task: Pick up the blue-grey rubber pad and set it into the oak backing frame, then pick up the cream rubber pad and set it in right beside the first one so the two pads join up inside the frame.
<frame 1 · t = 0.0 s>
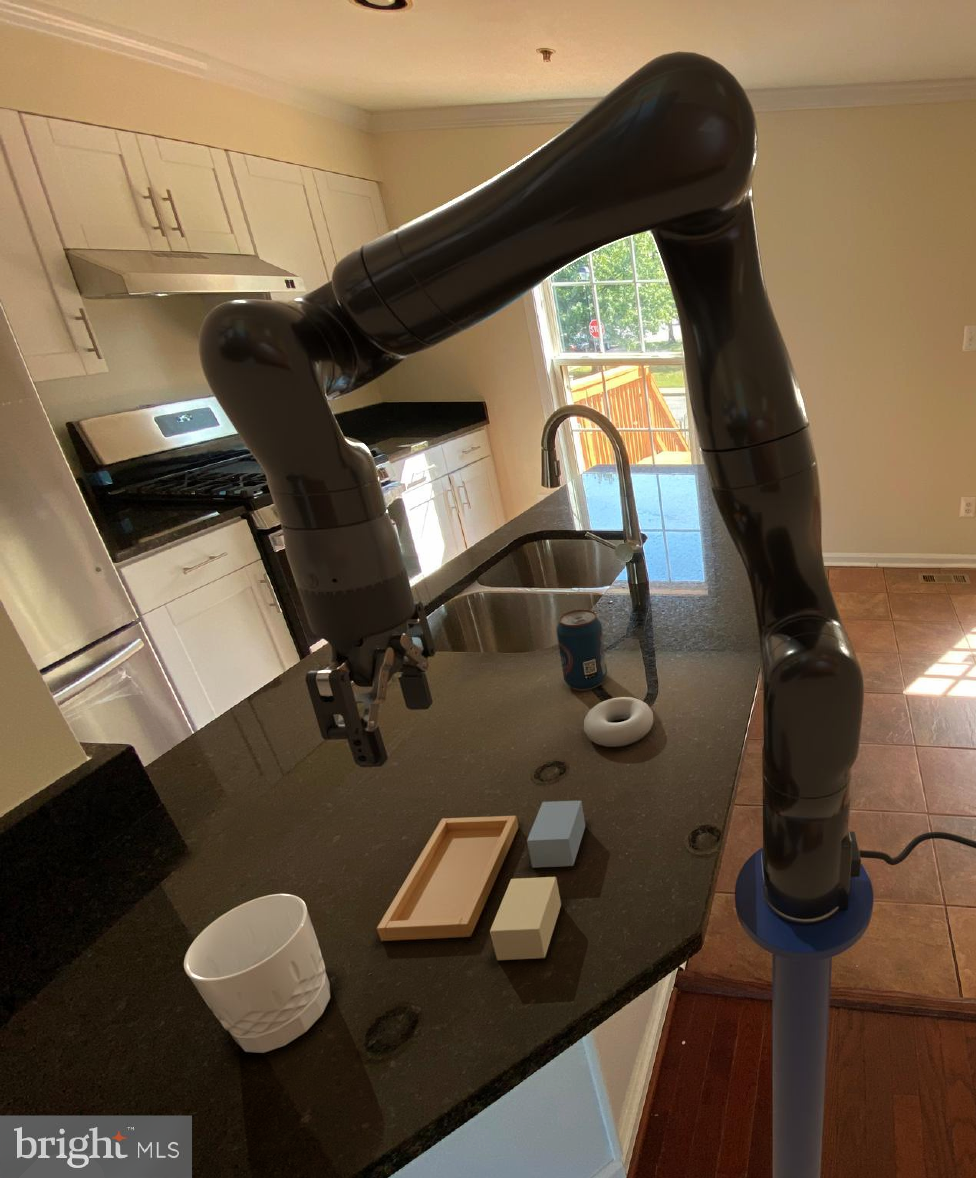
hand: (398, 733, 58), 21 cm above the worktop, tool pointing down, fingers open, 8 cm apart
pad b: (530, 931, 63), on the worktop
white cup: (286, 1014, 56), on the worktop
frame: (456, 878, 69), on the worktop
pad a: (559, 846, 73), on the worktop
soda can: (586, 682, 106), on the worktop
donut: (620, 731, 93), on the worktop
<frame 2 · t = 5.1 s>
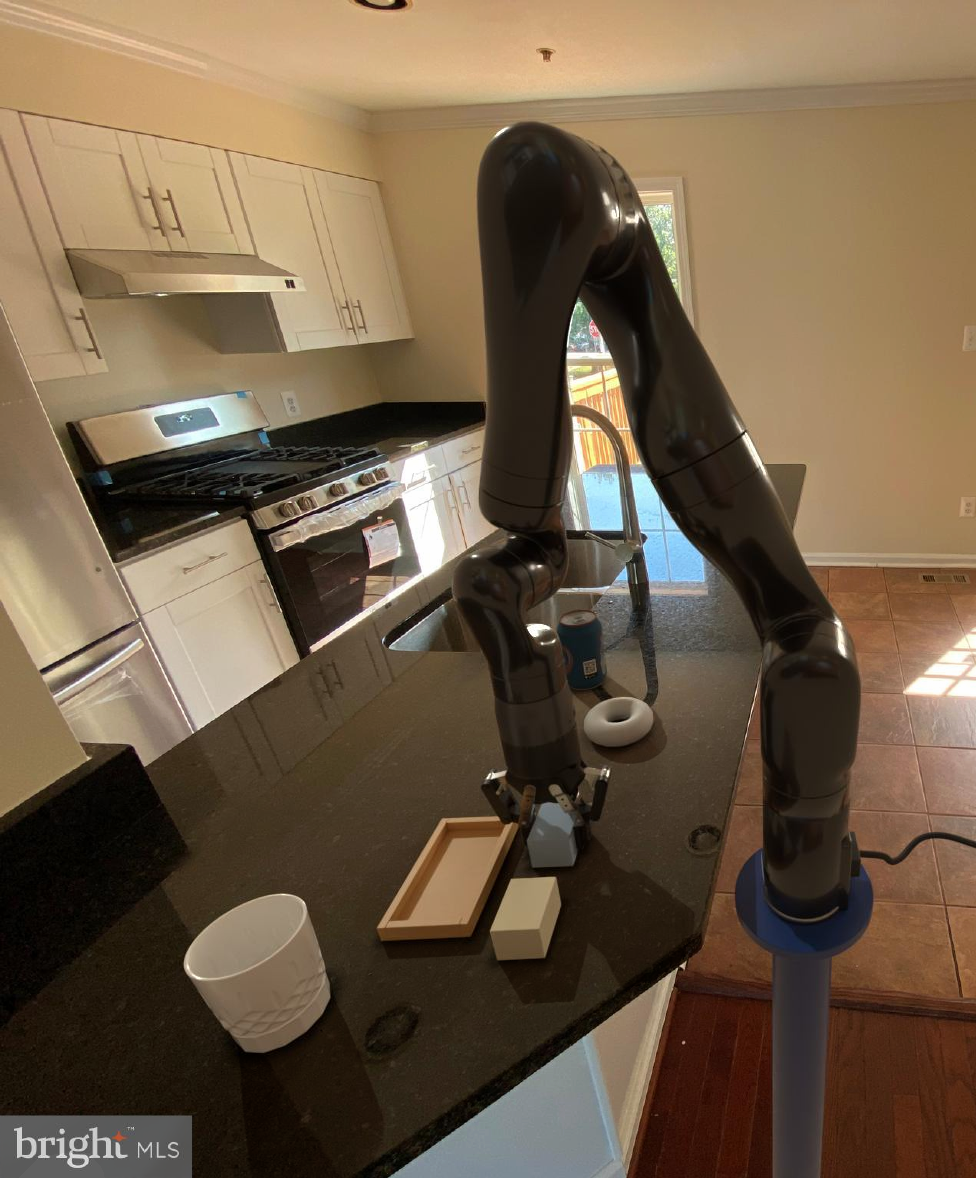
hand: (559, 844, 73), 0 cm above the worktop, tool pointing down, fingers closed on pad a, 4 cm apart
pad a: (559, 846, 73), on the worktop, touching gripper
everything else where it was.
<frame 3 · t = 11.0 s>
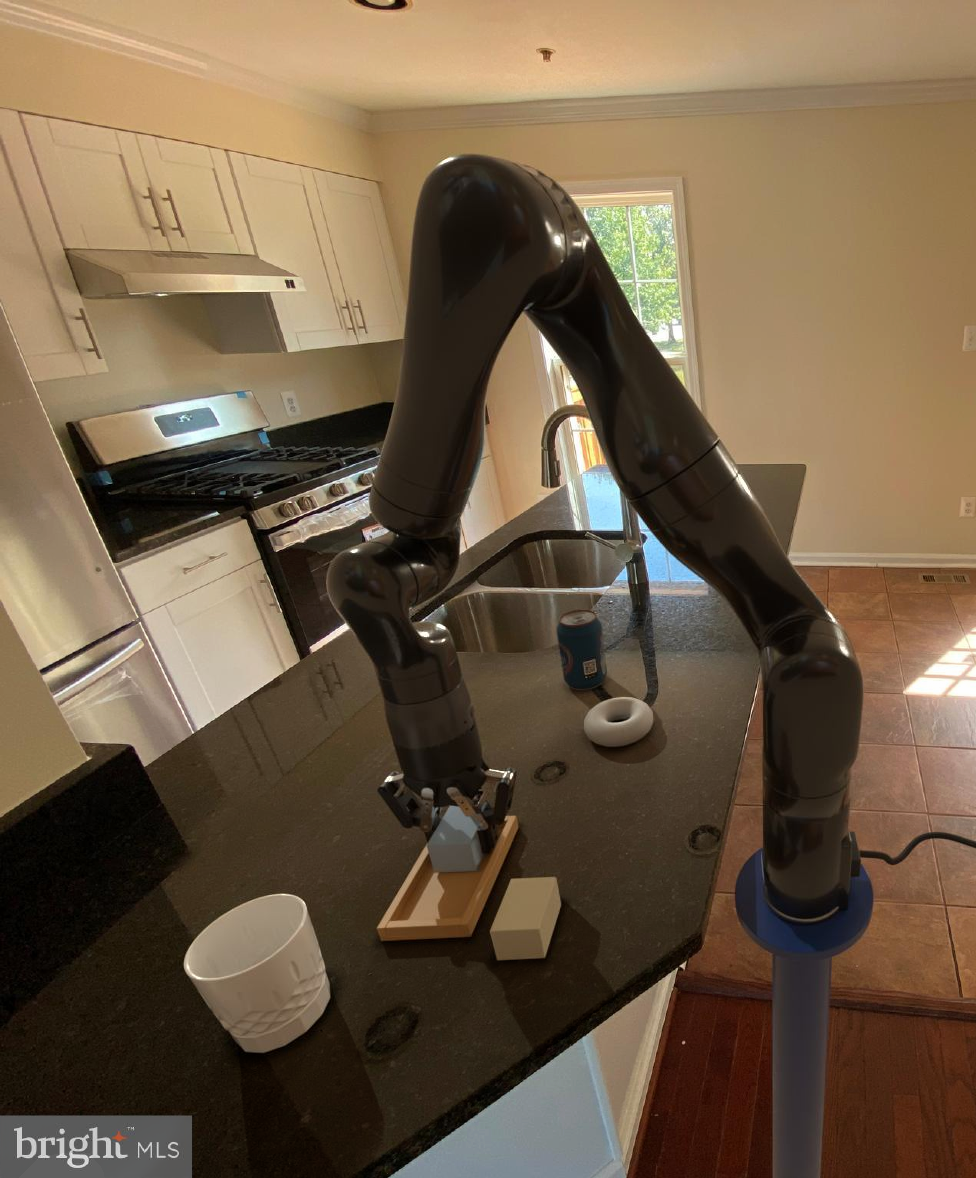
hand: (466, 848, 71), 1 cm above the worktop, tool pointing down, fingers closed on pad a, 4 cm apart
pad a: (466, 850, 71), point 1 cm above the worktop, touching gripper
everything else where it was.
when the fingers open (2 cm above the worktop, at t = 14.3 s): pad a stays where it is, resting on frame.
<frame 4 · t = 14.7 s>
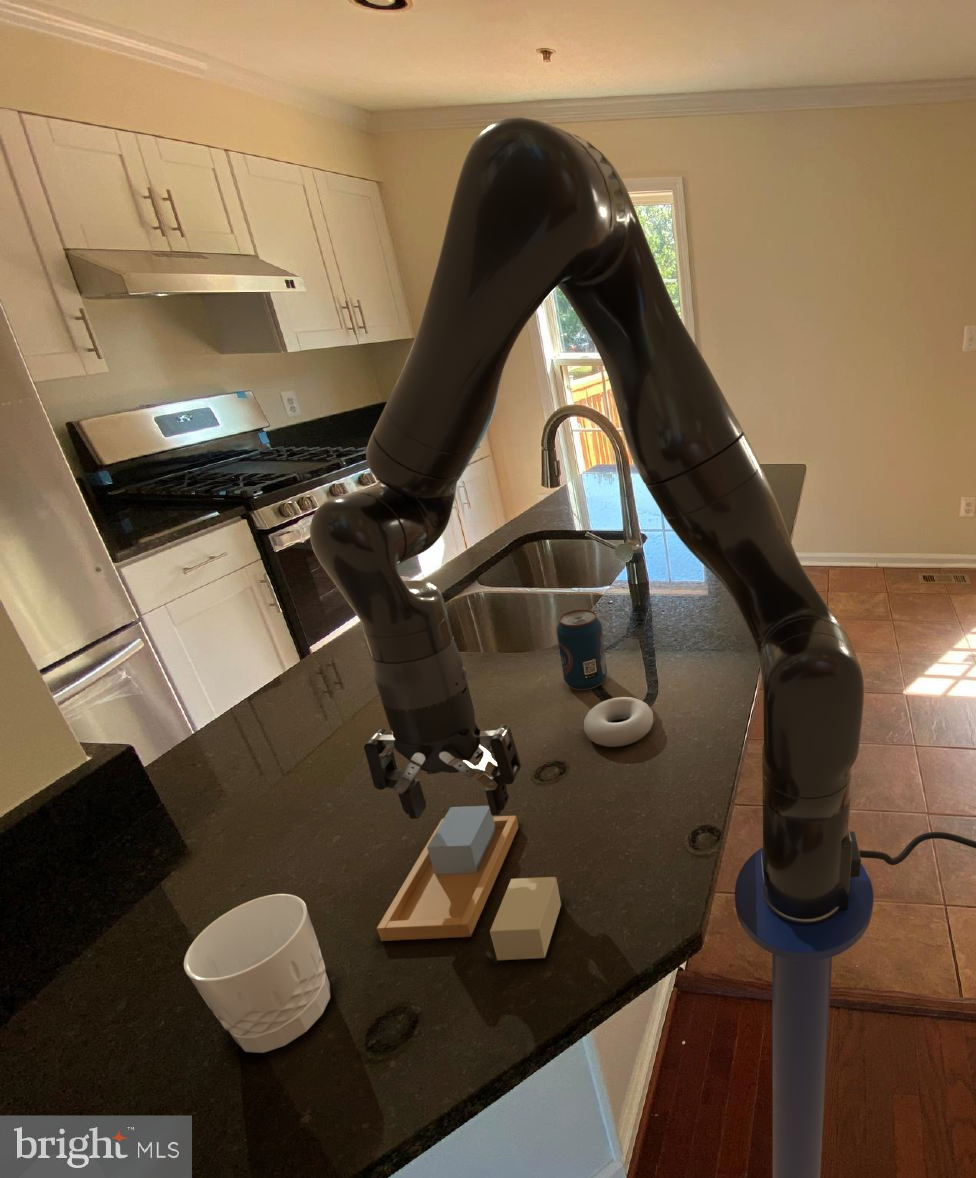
hand: (459, 811, 69), 6 cm above the worktop, tool pointing down, fingers open, 8 cm apart
pad a: (467, 852, 71), point 1 cm above the worktop, touching frame
everything else where it was.
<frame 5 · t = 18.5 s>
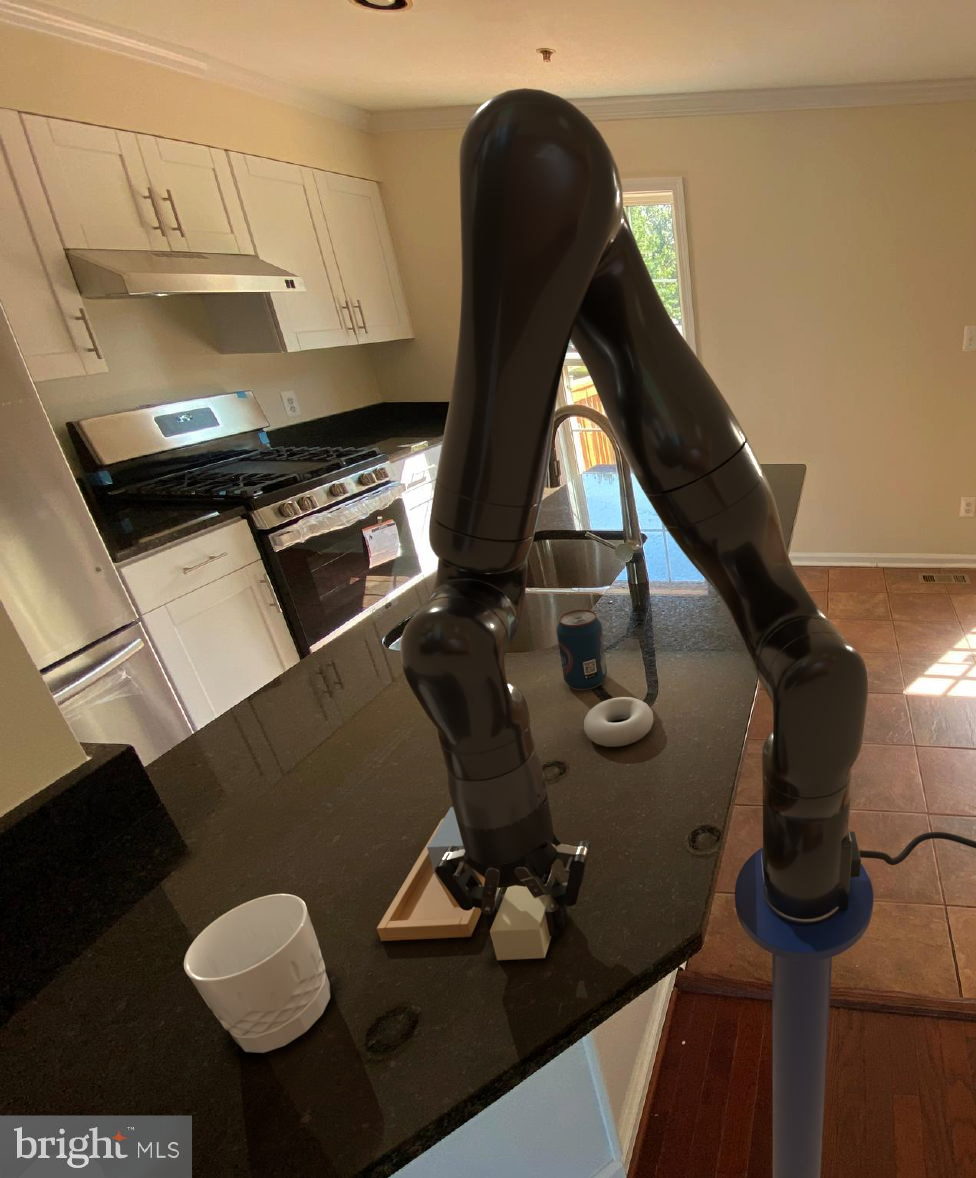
hand: (530, 928, 63), 0 cm above the worktop, tool pointing down, fingers closed on pad b, 4 cm apart
pad b: (530, 931, 63), on the worktop, touching gripper
everything else where it was.
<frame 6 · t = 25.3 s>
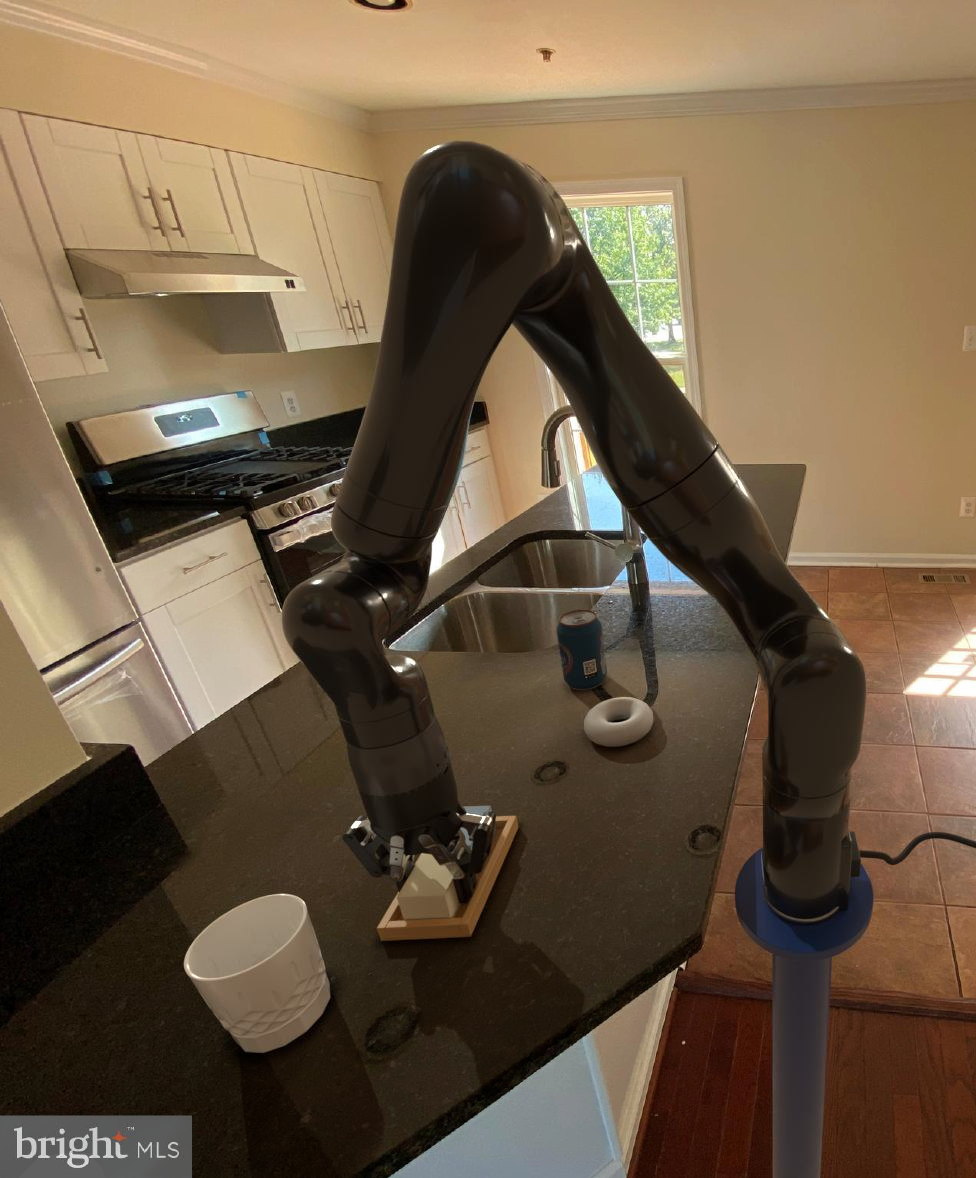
hand: (441, 896, 65), 1 cm above the worktop, tool pointing down, fingers closed on pad b, 4 cm apart
pad b: (442, 899, 66), point 1 cm above the worktop, touching gripper
everything else where it was.
when the fingers open (2 cm above the worktop, at t = 27.7 s): pad b stays where it is, resting on frame.
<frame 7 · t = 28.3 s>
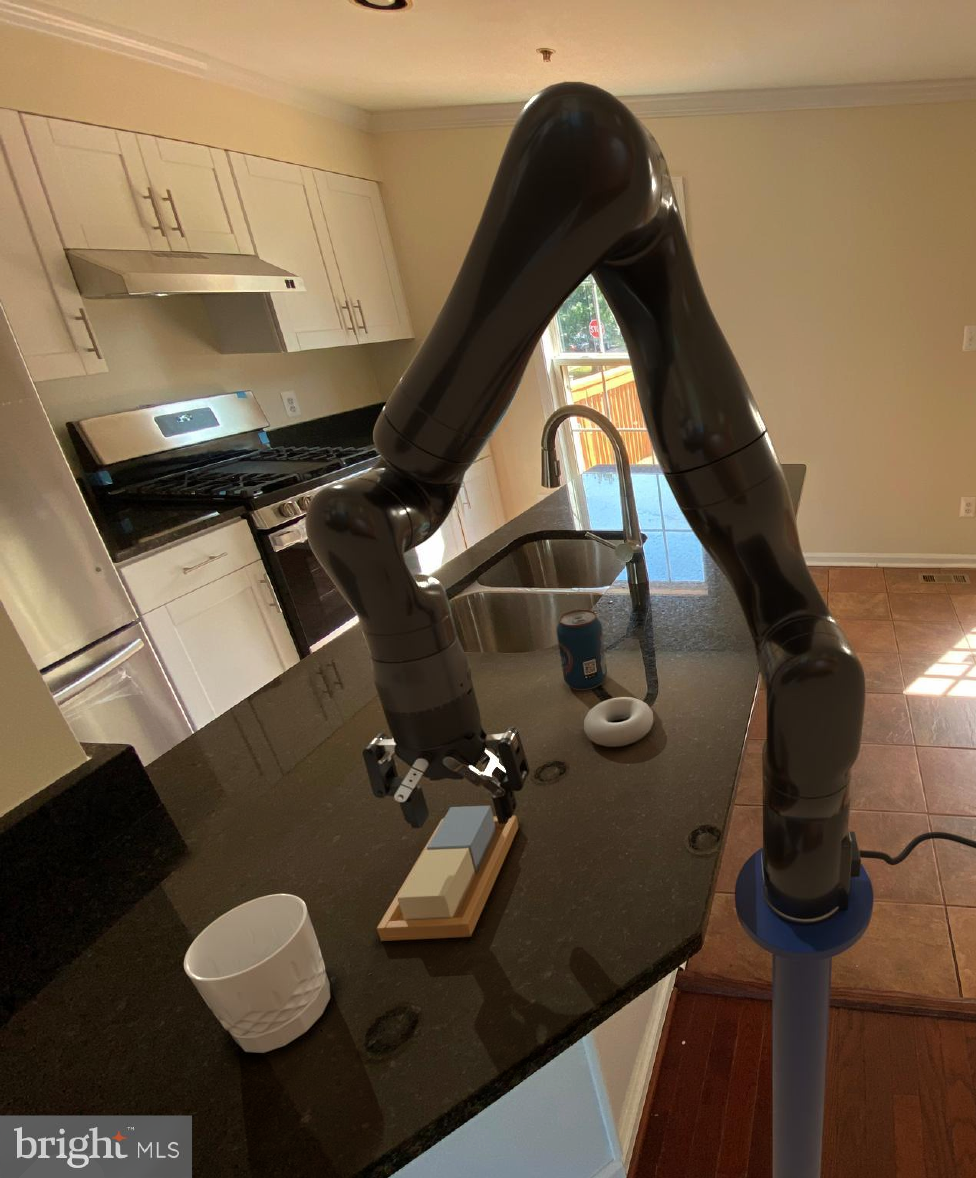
hand: (464, 820, 65), 9 cm above the worktop, tool pointing down, fingers open, 8 cm apart
pad b: (442, 900, 66), point 1 cm above the worktop, touching frame
everything else where it was.
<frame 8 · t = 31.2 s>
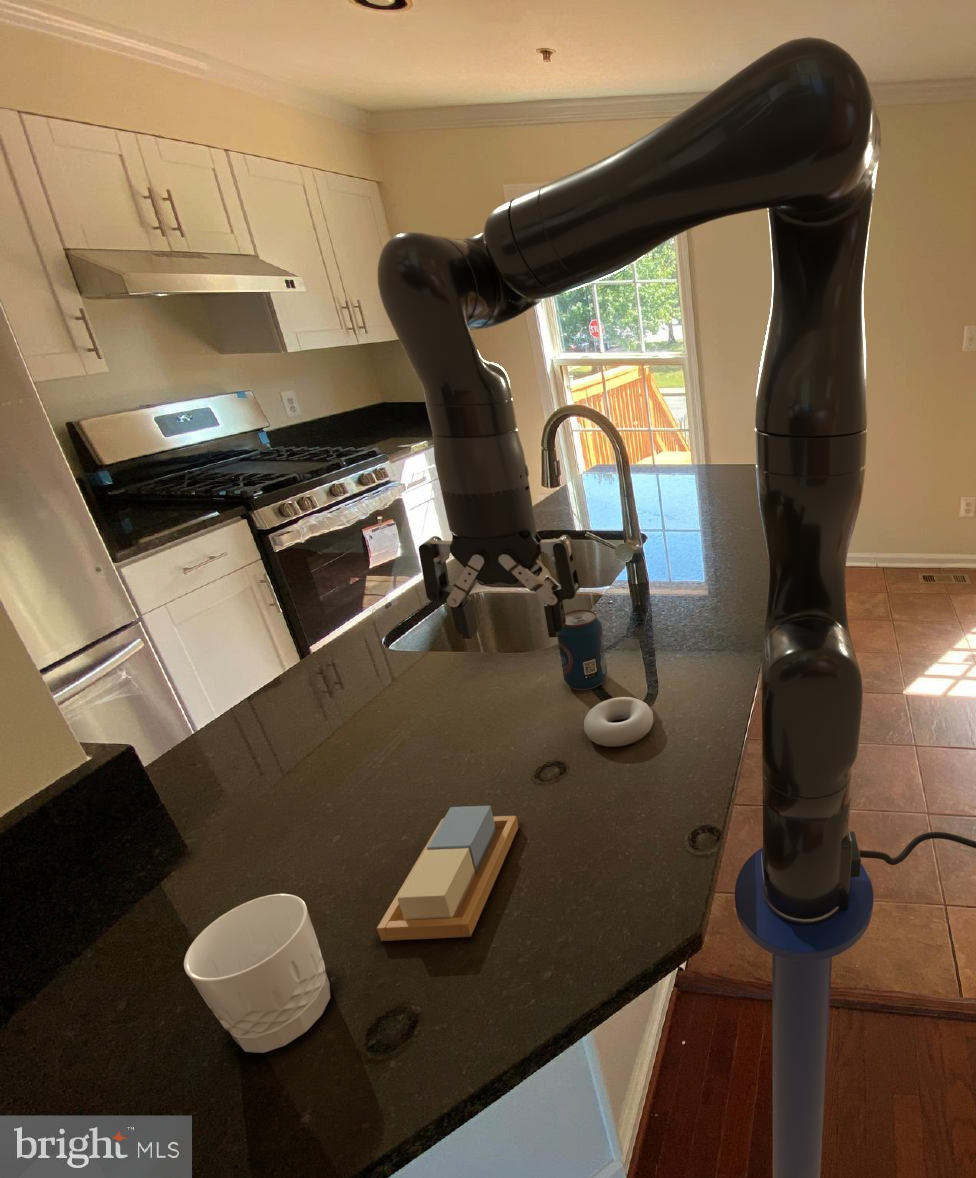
hand: (513, 634, 65), 26 cm above the worktop, tool pointing down, fingers open, 8 cm apart
nothing on the worktop moved.
at the end: pad a inside the target area in the frame (2.5 cm from its centre), point 0.6 cm above the frame's base; pad b inside the target area in the frame (3.8 cm from its centre), point 0.6 cm above the frame's base; pad b 6.3 cm from the pad a (horizontally) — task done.
